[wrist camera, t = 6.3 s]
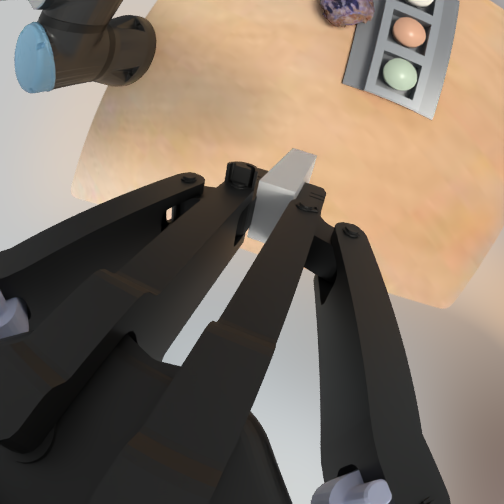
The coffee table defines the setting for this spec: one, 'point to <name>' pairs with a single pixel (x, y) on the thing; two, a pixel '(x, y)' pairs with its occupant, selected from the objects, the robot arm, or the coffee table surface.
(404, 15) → the button panel
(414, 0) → the button cream
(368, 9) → the purple lumpy piece
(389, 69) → the button sage
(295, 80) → the coffee table surface
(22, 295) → the robot arm
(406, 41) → the button terracotta
